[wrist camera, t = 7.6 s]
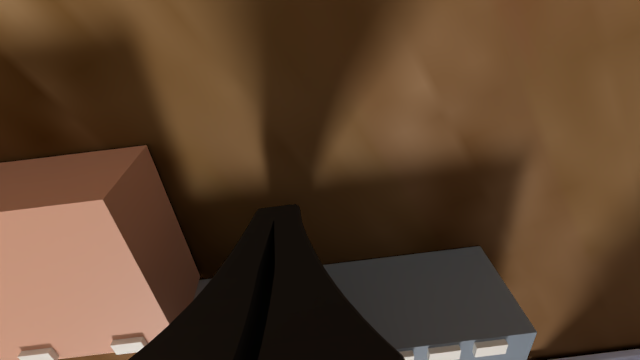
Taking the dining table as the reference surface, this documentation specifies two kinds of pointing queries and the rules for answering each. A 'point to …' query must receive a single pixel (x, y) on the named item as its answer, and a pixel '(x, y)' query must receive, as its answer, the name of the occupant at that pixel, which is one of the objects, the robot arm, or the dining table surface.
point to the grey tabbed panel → (436, 305)
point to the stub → (88, 255)
